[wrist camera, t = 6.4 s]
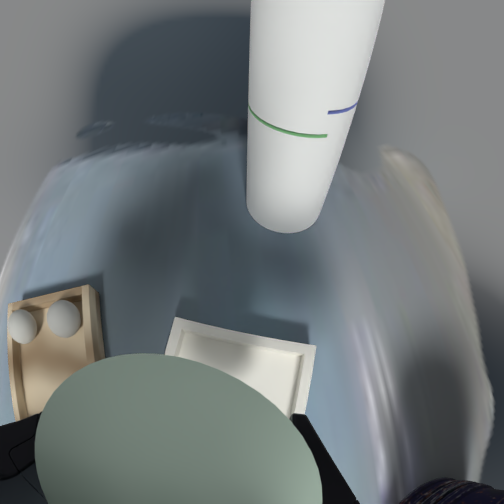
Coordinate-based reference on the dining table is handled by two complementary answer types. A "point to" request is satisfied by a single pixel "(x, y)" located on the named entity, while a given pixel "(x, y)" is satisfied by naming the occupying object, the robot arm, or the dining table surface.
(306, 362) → the white tray
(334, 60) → the cylindrical container
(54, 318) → the white ball
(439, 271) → the dining table surface
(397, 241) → the dining table surface
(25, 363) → the wooden tray
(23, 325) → the pebble
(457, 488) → the storage jar
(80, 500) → the sage green tall cylinder
